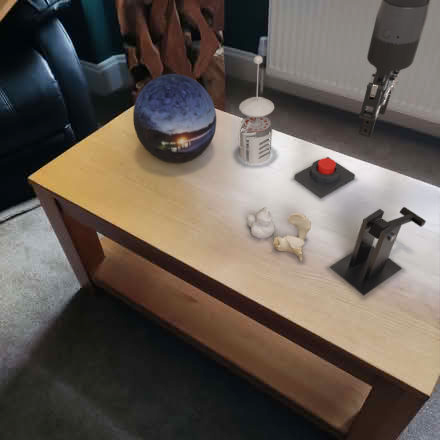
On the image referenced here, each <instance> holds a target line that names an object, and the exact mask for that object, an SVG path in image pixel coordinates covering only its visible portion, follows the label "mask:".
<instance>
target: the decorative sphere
mask: <svg viewBox="0 0 440 440" xmlns="http://www.w3.org/2000/svg"><path fill="white" fill-rule="evenodd" d="M133 106H134V107H133V115H132V116H133V118H132V120H133V128H134V131H135V134H136V136H137V139H138V141H139V142H140V144H141V145H142V147H143V148H144V149H145V150H146V151H147V152H148V153H149V154H150V155H152V156H153V158H154V157H155V158H156V159H158V160H160V161H162V162H166V163H170V164H182V163H187V162H191V161H193V160H195V159H196V158H198V157H200V156H201V155H202V154H203V153H204V152H205V151H206V150H207V149H208V147H209V146H210V145H211V143H212V141H213V139H214V136H215V133H216V128H217V111H216V108H215V103H214V101H213V99H212V97H211V96H210V94H209V92H208V91H207V90H206V88H205V87H204V86H203V85H202V84H201V83H199V82H198V81H197V80H195V79H193V78H192V77H190V76H187V75H184V74H179V73H168V74H162V75H160V76H157V77H155V78H153V79H151V80H150V81H149V82H148V83H146V84H145V86H144V87H143V88H142V89H141V90H140V92H139V93H138V95H137V97H136V100H135V103H134V105H133Z"/></svg>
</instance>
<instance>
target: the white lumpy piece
mask: <svg viewBox="0 0 440 440" xmlns="http://www.w3.org/2000/svg"><path fill="white" fill-rule="evenodd" d="M246 218H247V219H246V220H247V225H248V226H249V227H250V233H251V235H252V236H254V237H255V238H259V239H262V238H263V239H266V238H269V237H271V236H272V235H274V233H275V230H276V227H275V223H274V221H273V216H272V214H271V212H270V211H269V209H268V208H267V207H266V206H264V207H263V208H261V209H259V210H258V211H257V212H256V213H255V214H251V213H250V214H248V215H247V217H246Z"/></svg>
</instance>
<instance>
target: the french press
mask: <svg viewBox="0 0 440 440" xmlns="http://www.w3.org/2000/svg"><path fill="white" fill-rule="evenodd" d="M253 63H254V64H257V71H256V72H257V73H256V74H257V75H256V77H257V79H256V96H252V97H249V98H246V99H245V100H243V101H242V102H241V103H240V104H239V105H238V106H239V111H240V112H241V114H242V115H245V116H246V117H244V118H243V119H242V120H241V121H240V122H241V124H240V126H239V129H238V134H237V143H238V146H239V156H240V158H241V160H242V161H243V162H246V163H248V164H250V165H251V164H252V165H259V164H263V163H265V162H267V161H268V160H269V159H270V158H271V154H272V153H271V152H272V151H271V150H272V137H273V126H272V121H271V119H270V118H269V117H267V116H268V115H270V114H271V113H272V112H273V111H274V109H275V104H274V103H273V101H271V100H269V99H268V98H265V97H263V96H259V95H258V94H259V72H260V71H259V69H260V68H259V67H260V66H259V65H260V64H262V63H263V57H262V56H261V55H256V56H254V58H253ZM243 129H244V130H243ZM254 133H255V134H254ZM247 134H248V135H247Z"/></svg>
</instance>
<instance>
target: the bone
mask: <svg viewBox="0 0 440 440" xmlns="http://www.w3.org/2000/svg"><path fill="white" fill-rule="evenodd" d="M287 221H288V223H289V224H290V225H292V226H295V227H296V229H297V236H294V235H288V234H287V235H284V236H283V237H281V236H279V235H277V236H276V237H274V238H273V242H272V247H273V248H274V249H276V250H277V251H279V252H287V253H288V252H289V253H292V254H294V255H295V256H297V258H298V259H299V260H300V261H301V262H302V261H303V255H304V254H303V252H302V249H303V248H302V247H303V245H304V244H306V242H305V239H306V237H307V235H308V233H309V231H310V230H311V229H312V222H311V220H310V219H309V218H308V217H307V215H305V214H303V213H299V212H293V213H292V214H290V215H289V216H288V217H287Z"/></svg>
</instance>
